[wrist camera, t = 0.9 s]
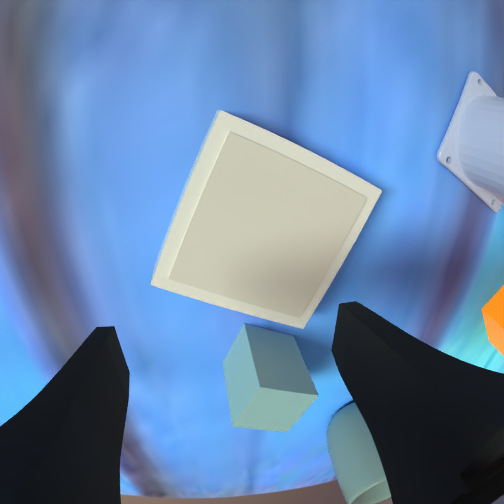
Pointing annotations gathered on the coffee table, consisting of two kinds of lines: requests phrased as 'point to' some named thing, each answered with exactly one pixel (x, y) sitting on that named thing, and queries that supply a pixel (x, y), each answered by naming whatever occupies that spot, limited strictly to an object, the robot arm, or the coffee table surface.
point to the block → (266, 380)
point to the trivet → (261, 224)
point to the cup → (356, 458)
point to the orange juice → (495, 320)
